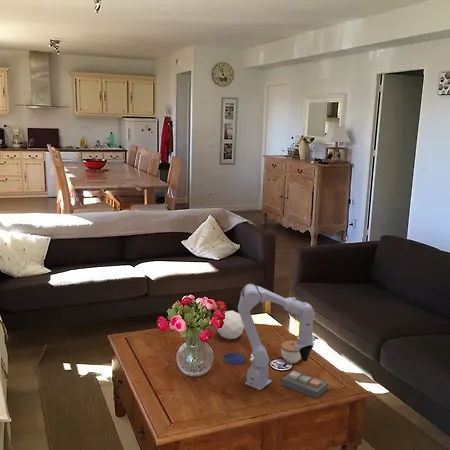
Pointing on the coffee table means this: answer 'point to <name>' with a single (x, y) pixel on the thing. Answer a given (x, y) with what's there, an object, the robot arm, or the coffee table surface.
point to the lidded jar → (290, 352)
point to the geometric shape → (231, 325)
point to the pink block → (315, 383)
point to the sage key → (304, 379)
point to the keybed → (304, 386)
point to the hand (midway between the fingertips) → (304, 360)
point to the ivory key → (294, 375)
